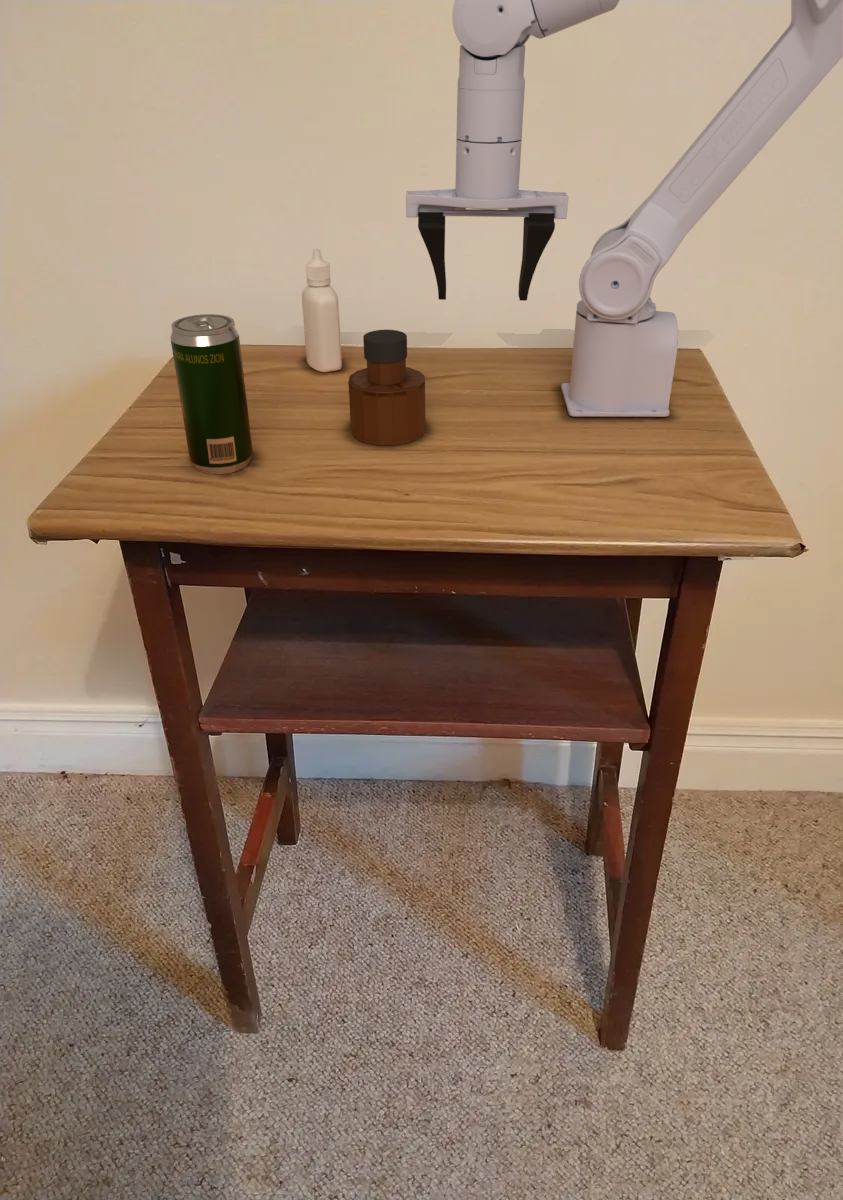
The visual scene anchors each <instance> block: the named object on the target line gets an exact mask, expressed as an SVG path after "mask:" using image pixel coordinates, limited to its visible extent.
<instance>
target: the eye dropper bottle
mask: <svg viewBox="0 0 843 1200" xmlns="http://www.w3.org/2000/svg"><path fill="white" fill-rule="evenodd" d="M305 271H306V272H305V273H306V284H307V285H306V286H305V287H304V288H303V289H302V292H301V304H302V318H303V319H302V320H303V331H304V343H305V354H306V355H305V357H306V358H305V359H306V362H307V364H308V366H309V367H310V368H312V369H313V370H316V371H318V372H320V373H329V372H330V373H331V372H335V371H340V370H341V369H342V367H343V361H342V360H343V357H342V339H341V323H340V322H341V321H340V306H339V305H340V304H339V297H338V294H337V292H336V291H335V289H334V288H333V286H332V285H331V267H330V263H329V262H328V261H325V260H324V259H323V256H322V251H321V249H319V248H314V249H313V250H312V258H311V260H310V261H309V262H307V263H306V264H305Z"/></svg>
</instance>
